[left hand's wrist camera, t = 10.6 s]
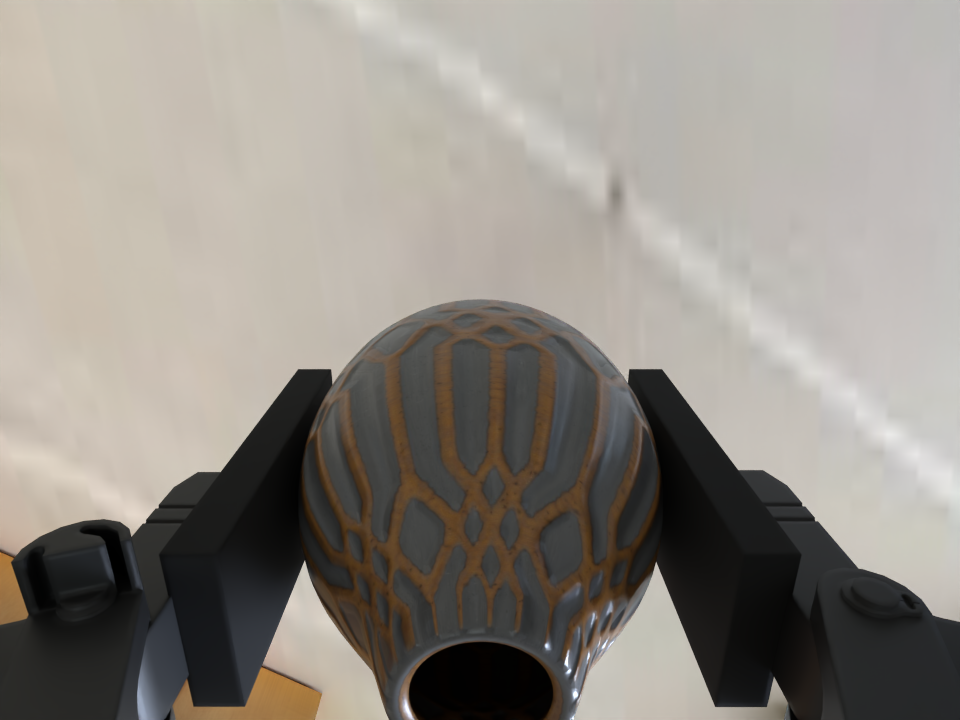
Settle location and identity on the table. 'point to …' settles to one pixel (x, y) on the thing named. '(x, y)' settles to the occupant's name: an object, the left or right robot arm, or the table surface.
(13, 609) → the bread
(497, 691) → the ribbed bud pot
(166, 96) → the table surface
